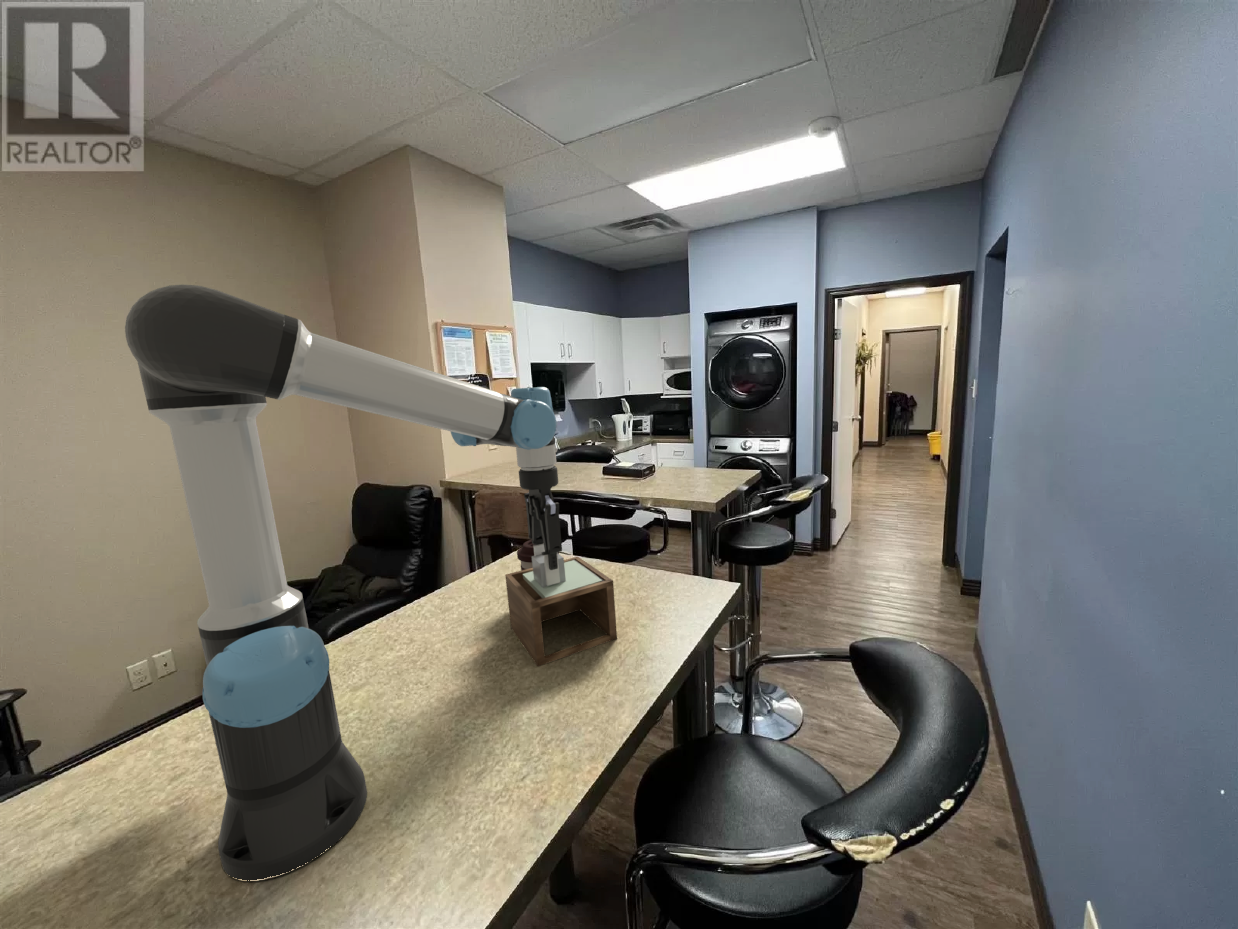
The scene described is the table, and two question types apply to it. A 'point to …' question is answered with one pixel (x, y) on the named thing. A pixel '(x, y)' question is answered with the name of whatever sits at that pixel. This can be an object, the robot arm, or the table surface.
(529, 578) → the trapdoor
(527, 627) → the box frame
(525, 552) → the coffee cup
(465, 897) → the table surface
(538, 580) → the block
